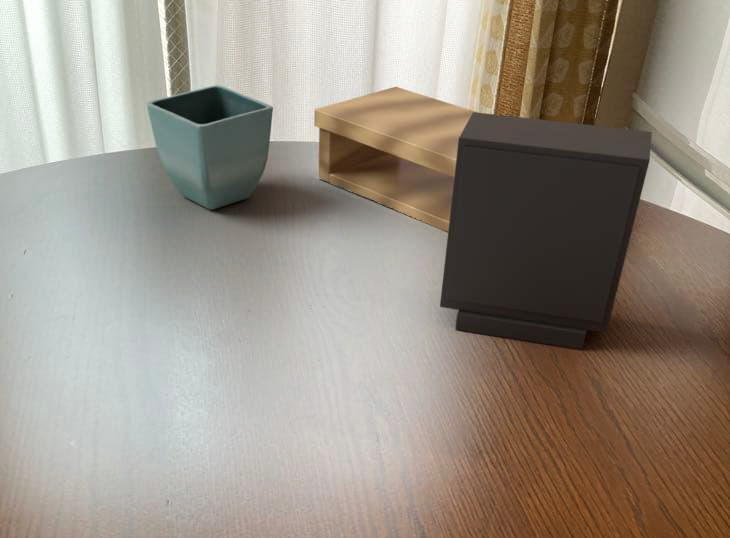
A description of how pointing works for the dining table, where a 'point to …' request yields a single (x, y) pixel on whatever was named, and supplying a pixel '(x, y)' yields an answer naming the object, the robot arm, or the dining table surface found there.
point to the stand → (394, 150)
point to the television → (540, 226)
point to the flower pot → (212, 143)
